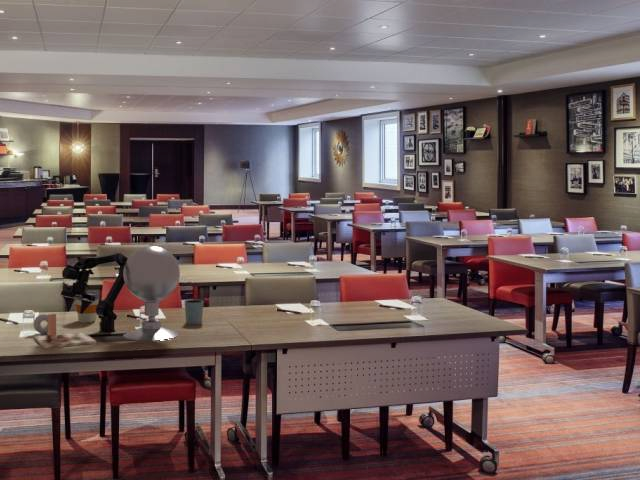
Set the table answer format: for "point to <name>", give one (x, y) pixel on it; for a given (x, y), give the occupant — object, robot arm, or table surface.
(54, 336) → the pink l-shaped piece
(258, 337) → the table surface
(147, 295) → the desk lamp
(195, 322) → the grey-green tapered cup
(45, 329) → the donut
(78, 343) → the board
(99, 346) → the table surface
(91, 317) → the reusable coffee cup
